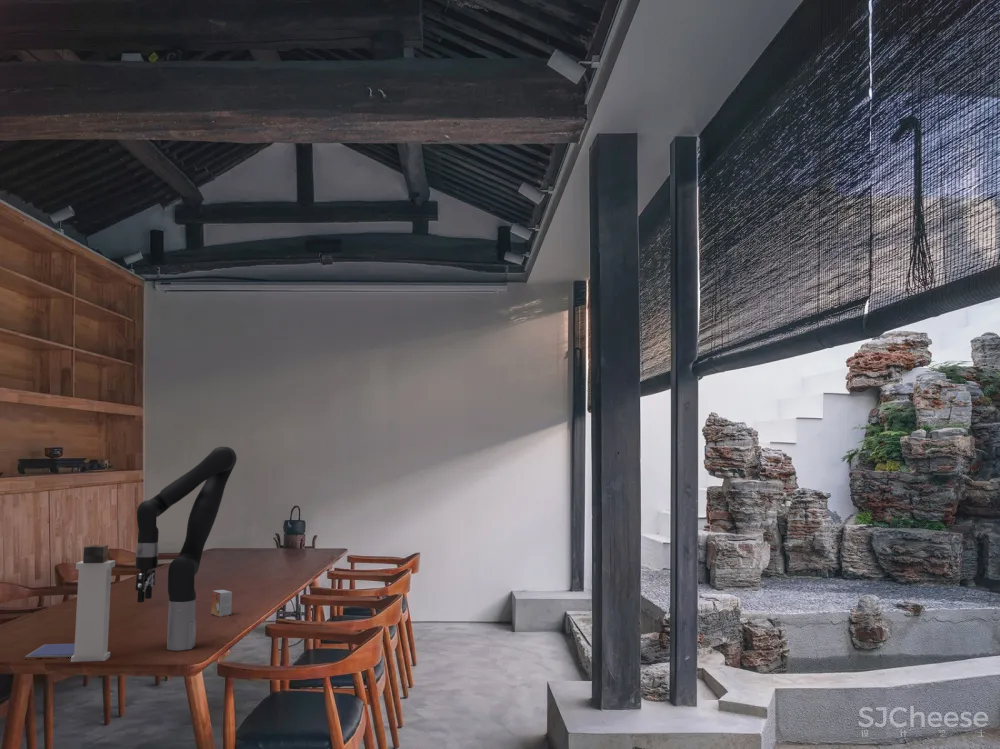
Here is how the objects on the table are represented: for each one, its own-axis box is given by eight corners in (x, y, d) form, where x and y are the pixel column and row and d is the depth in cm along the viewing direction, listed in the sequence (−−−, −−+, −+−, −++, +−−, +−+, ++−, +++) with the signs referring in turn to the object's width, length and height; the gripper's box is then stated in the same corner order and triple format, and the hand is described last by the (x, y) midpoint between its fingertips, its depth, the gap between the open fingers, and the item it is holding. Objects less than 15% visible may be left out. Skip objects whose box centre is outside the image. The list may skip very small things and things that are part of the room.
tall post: (110, 656, 291) (115, 560, 294) (105, 660, 284) (109, 562, 287) (77, 657, 289) (82, 560, 292) (70, 661, 282) (75, 563, 285)
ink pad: (90, 645, 305) (91, 642, 306) (74, 657, 288) (74, 654, 288) (44, 647, 303) (44, 644, 303) (24, 659, 285) (24, 656, 285)
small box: (210, 615, 364) (211, 590, 365) (222, 613, 368) (223, 589, 369) (219, 617, 358) (220, 592, 359) (231, 616, 362) (232, 591, 363)
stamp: (114, 557, 301) (115, 542, 302) (102, 563, 286) (103, 546, 287) (96, 557, 300) (96, 542, 301) (82, 563, 285) (83, 547, 286)
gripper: (151, 557, 297) (149, 603, 295) (163, 553, 311) (161, 597, 309) (129, 557, 296) (127, 603, 295) (142, 553, 310) (140, 597, 309)
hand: (144, 600), depth 302 cm, fingers open, 8 cm apart
